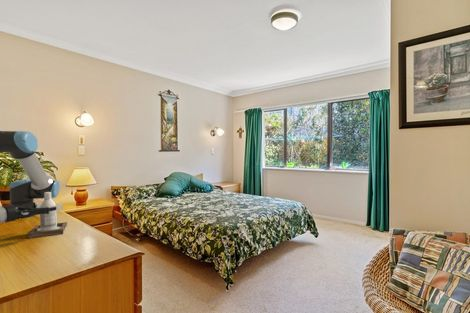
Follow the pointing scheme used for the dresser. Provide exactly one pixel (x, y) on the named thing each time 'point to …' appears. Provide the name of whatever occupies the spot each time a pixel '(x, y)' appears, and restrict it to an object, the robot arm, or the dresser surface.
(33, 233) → the tray
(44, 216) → the bath foam
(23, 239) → the dresser surface
